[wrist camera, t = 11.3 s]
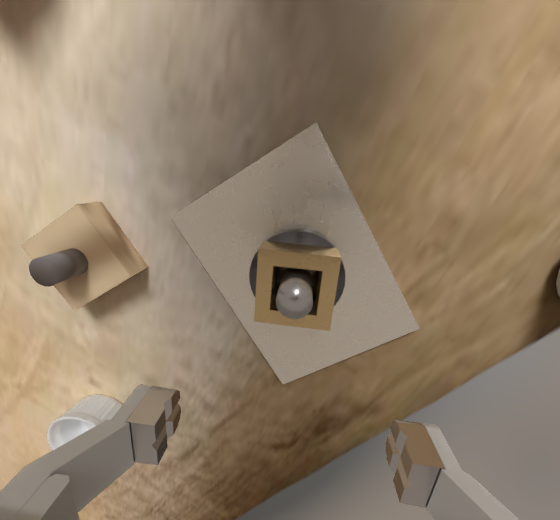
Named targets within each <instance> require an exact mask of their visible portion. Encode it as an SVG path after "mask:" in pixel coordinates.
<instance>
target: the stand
mask: <svg viewBox="0 0 560 520" xmlns="http://www.w3.org/2000/svg"><path fill="white" fill-rule="evenodd" d="M21 247H22V248H23V249H24V250H25V251H26V253H27V254H28V255H29V256H30V257H31V259H32V261H31V263H30V265H29V271H30V274H31V276H32V277H33V279H34V280H35V281H36V282H37V283H39V284H41V285H43V286H52V285H54V287H55V288H56V289H57V290H58V291H59V293H60V294H61V295H62V296H63V297H64V299H65V300H66V301H67V302H68V303H69V305H70V306H71V307H72V308H73V310H74V311H75V310H77V309H79V308H81V307H82V306H84V305H86V304H88V303H90V302H91V301H93V300H95V299H97V298H98V297H100V296H102V295H103V294H105V293H107V292H108V291H110V290H111V289H113V288H115V287H116V286H118V285H120V284H121V283H123V282H125V281H126V280H128V279H130V278H131V277H133V276H135V275H136V274H138V273H140V272H141V271H143V270H144V269H146V268H148V266H147V265H146V263H145V262H144V260H143V259H142V258H141V256H140V255H139V253H138V252H137V251H136V249H135V248H134V247H133V245H132V244H131V242H130V241H129V240H128V238H127V237H126V235H125V234H124V233H123V231H122V230H121V229H120V227H119V226H118V224H117V223H116V222H115V220H114V219H113V218H112V216H111V215H110V213H109V212H108V211H107V209H106V208H105V206H104V205H103V204H102V202H94V203H85V204H76V205H75V206H74V207H72V208H71V209H70V210H68V211H67V212H66V213H64V214H63V215H62V216H60V217H59V218H57V219H56V220H55V221H53V222H52V223H51V224H49V225H48V226H47V227H45V228H44V229H43V230H41V231H40V232H38V233H37V234H36V235H34V236H33V237H32V238H30V239H29V240H28V241H26V242H25V243H24V244H22V245H21Z"/></svg>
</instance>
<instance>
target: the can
mask: <svg viewBox="0 0 560 520" xmlns="http://www.w3.org/2000/svg"><path fill="white" fill-rule="evenodd" d="M556 286H557V292H558V295H559V296H560V268H559V272H558V276H557V281H556Z"/></svg>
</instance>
